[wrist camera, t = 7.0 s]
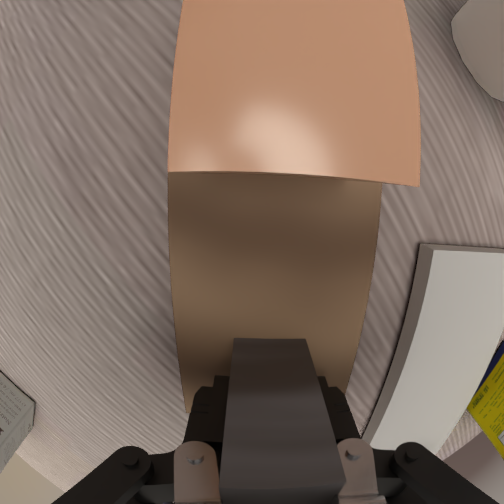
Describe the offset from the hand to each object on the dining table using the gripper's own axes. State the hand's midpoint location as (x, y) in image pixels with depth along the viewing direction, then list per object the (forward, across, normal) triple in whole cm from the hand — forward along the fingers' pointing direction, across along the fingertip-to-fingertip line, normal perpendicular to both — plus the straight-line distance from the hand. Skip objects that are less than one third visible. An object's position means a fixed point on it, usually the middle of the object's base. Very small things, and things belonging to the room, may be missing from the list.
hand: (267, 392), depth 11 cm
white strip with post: (+3, -11, +4) cm, 12 cm away
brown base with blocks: (+3, 0, -7) cm, 7 cm away
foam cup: (+3, -13, -18) cm, 22 cm away
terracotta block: (+1, 0, -11) cm, 11 cm away
